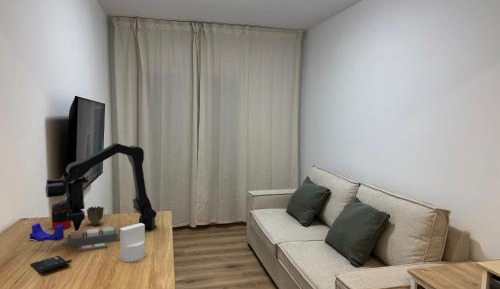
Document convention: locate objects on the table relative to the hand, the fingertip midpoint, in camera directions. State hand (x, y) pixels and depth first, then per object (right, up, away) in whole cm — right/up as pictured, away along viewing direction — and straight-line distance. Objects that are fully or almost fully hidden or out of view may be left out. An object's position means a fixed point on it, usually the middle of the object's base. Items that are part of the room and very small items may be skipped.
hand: (76, 230), depth 137 cm
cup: (-3, -3, +22) cm, 23 cm away
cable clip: (-15, -5, +4) cm, 16 cm away
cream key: (+5, -3, +3) cm, 7 cm away
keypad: (+5, -5, +3) cm, 8 cm away
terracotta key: (0, -3, 0) cm, 3 cm away
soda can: (-16, -3, +17) cm, 24 cm away
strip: (+9, -6, -4) cm, 11 cm away
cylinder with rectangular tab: (+27, -8, -10) cm, 29 cm away
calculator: (+1, -8, -19) cm, 21 cm away
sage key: (+11, -3, +6) cm, 13 cm away
